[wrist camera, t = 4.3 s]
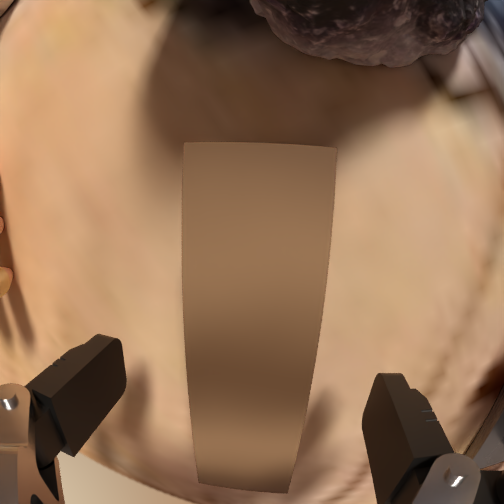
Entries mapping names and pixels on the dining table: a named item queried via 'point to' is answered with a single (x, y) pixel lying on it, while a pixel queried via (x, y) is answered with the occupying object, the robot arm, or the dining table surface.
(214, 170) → the walnut rail
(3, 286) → the ammunition
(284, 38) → the crystal cluster
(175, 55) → the dining table surface
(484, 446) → the bracket stand
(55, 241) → the dining table surface
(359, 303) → the dining table surface
